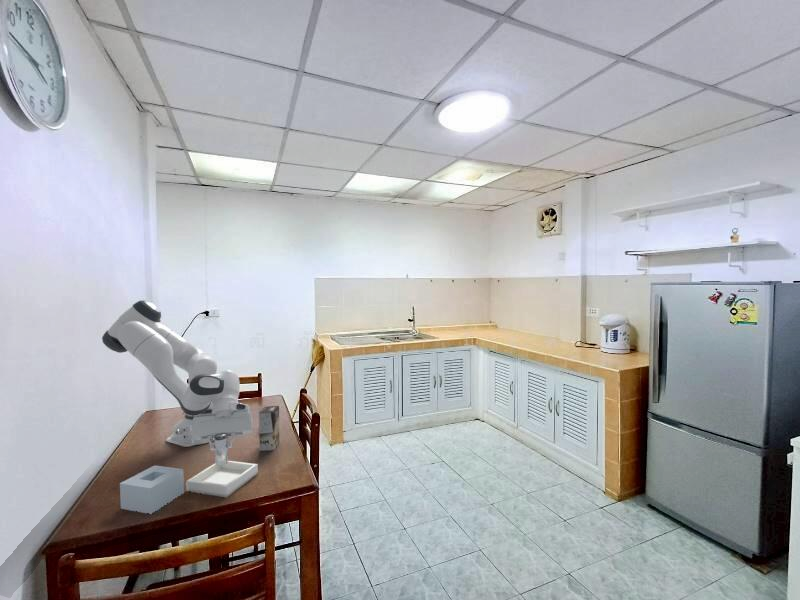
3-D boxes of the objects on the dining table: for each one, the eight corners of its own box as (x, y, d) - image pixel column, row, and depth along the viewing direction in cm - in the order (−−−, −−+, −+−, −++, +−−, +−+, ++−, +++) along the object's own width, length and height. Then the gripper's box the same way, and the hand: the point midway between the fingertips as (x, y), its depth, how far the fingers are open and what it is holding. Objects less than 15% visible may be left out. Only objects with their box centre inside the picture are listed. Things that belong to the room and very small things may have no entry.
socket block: (120, 508, 115) (119, 483, 115) (155, 488, 127) (154, 465, 127) (151, 514, 112) (150, 488, 112) (184, 492, 124) (183, 469, 123)
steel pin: (212, 464, 128) (211, 436, 128) (221, 459, 132) (220, 431, 132) (222, 466, 127) (221, 437, 127) (230, 461, 131) (229, 433, 131)
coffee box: (275, 450, 155) (274, 412, 155) (259, 451, 155) (258, 413, 154) (280, 441, 165) (279, 405, 164) (265, 442, 164) (264, 406, 163)
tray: (186, 491, 125) (186, 481, 124) (221, 468, 140) (220, 459, 140) (226, 497, 120) (226, 487, 120) (257, 473, 136) (257, 464, 136)
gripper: (191, 410, 133) (185, 448, 124) (253, 404, 139) (251, 440, 130) (195, 418, 137) (189, 456, 128) (254, 412, 143) (252, 448, 134)
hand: (220, 448), depth 129 cm, fingers closed on steel pin, 4 cm apart
